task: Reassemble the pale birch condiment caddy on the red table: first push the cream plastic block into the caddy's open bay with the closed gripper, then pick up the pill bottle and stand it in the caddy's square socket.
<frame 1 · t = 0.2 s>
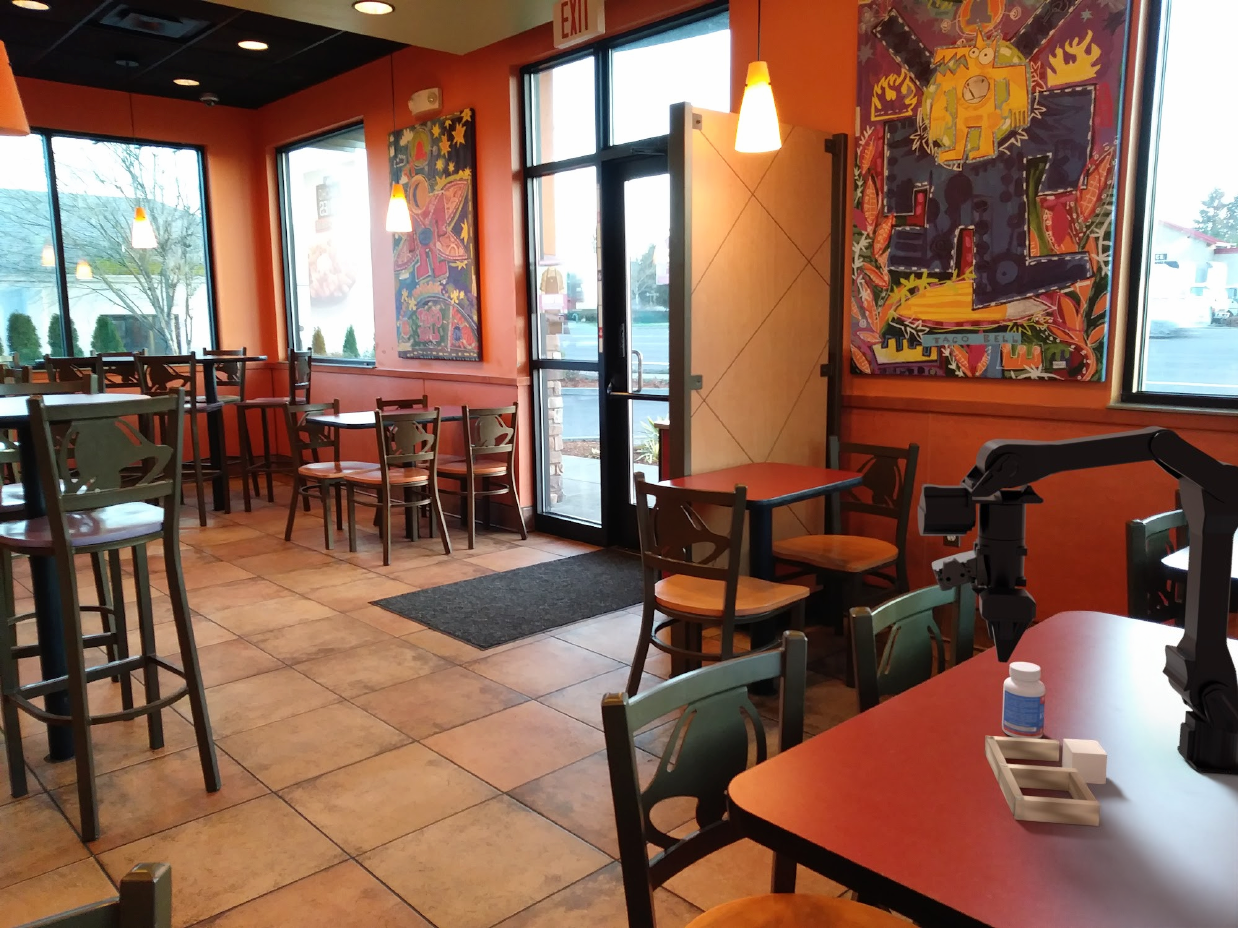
hand: (998, 649, 120), 14 cm above the table, tool pointing down, fingers open, 9 cm apart
pill bottle: (1022, 733, 127), on the table
caddy: (1037, 786, 112), on the table
cream block: (1083, 775, 114), on the table
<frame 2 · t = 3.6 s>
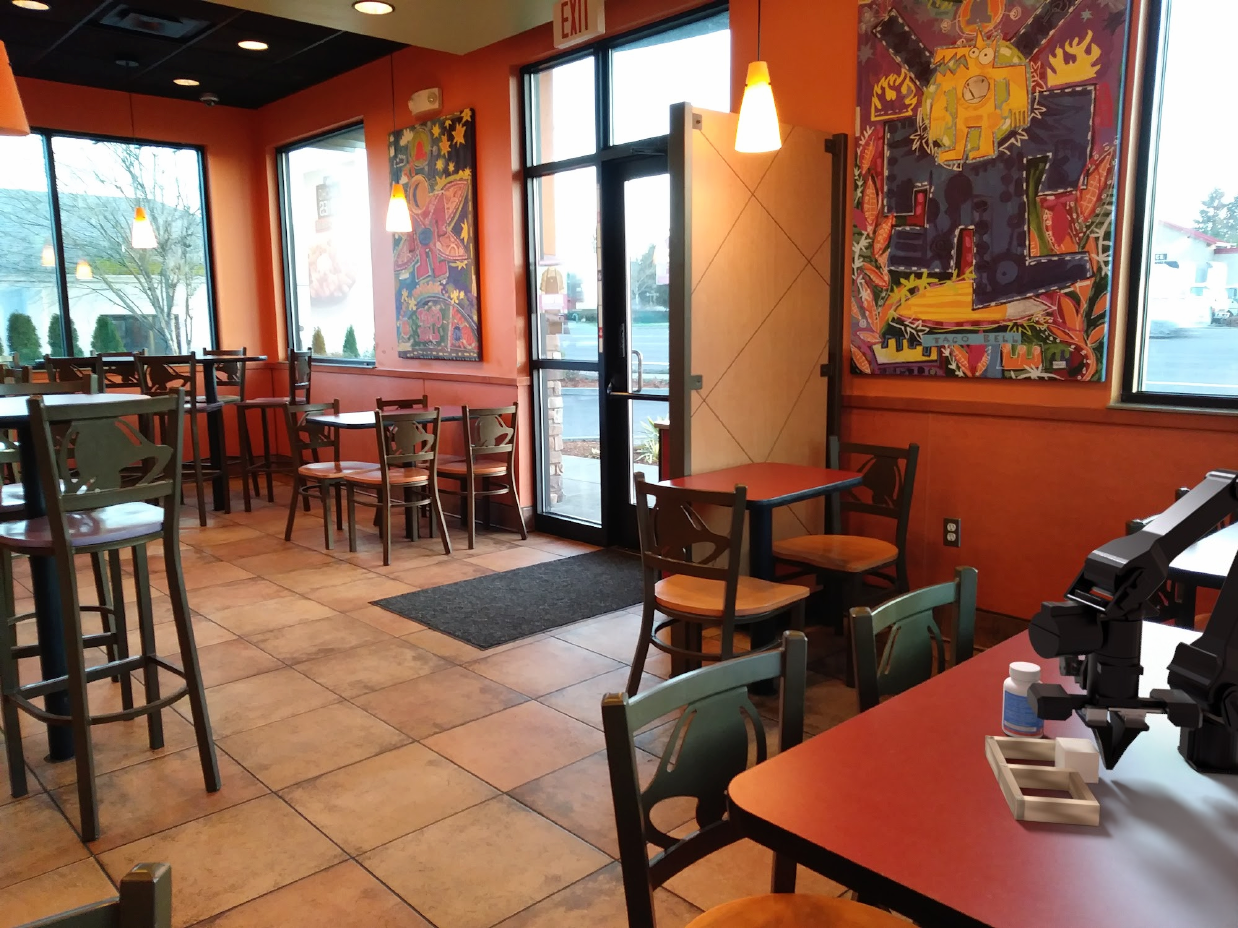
hand: (1107, 768, 113), 1 cm above the table, tool pointing down, fingers closed
cream block: (1075, 774, 114), on the table, touching gripper
everything else where it was.
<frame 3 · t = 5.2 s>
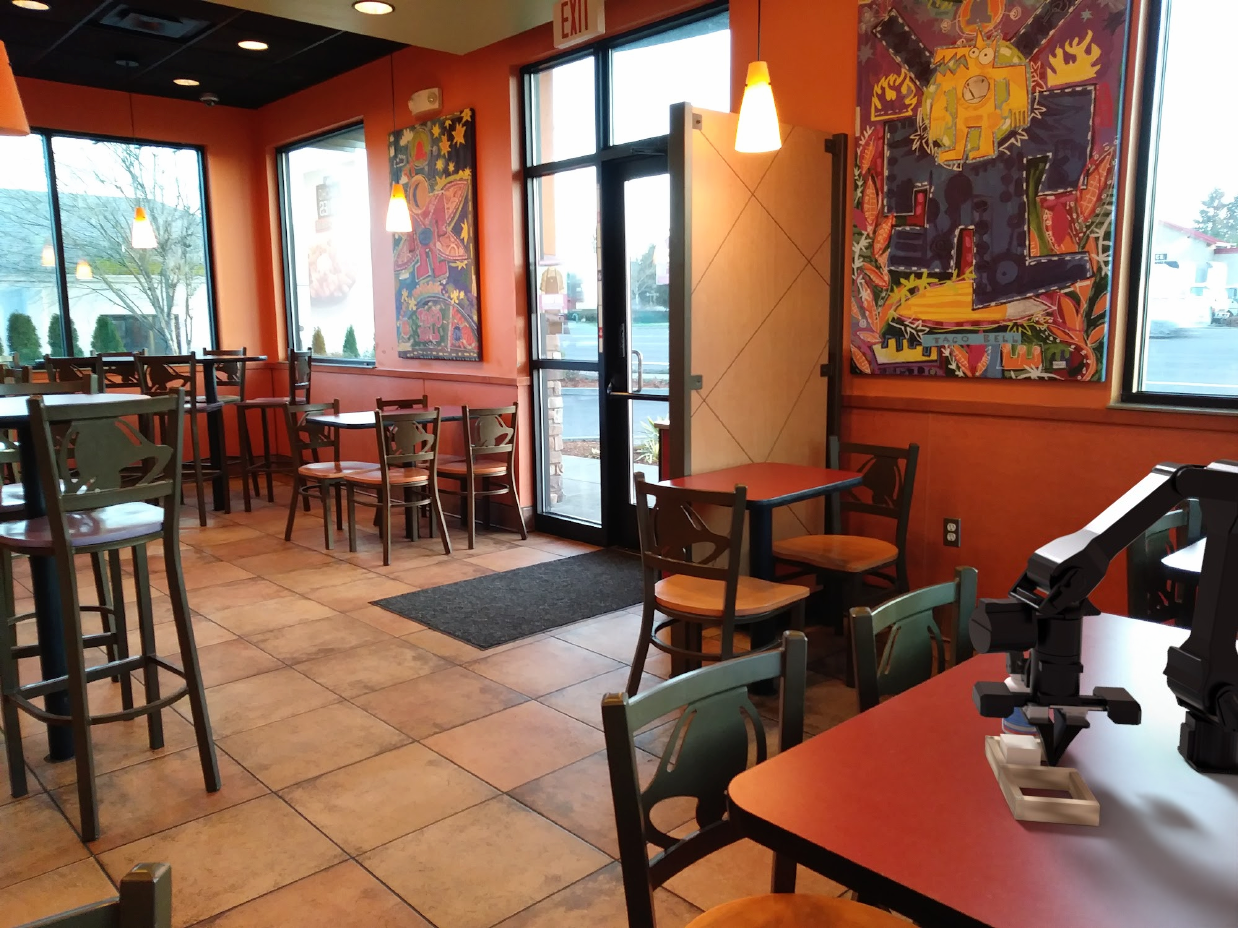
hand: (1051, 765, 115), 1 cm above the table, tool pointing down, fingers closed
cream block: (1019, 770, 116), resting in caddy, touching gripper
everything else where it was.
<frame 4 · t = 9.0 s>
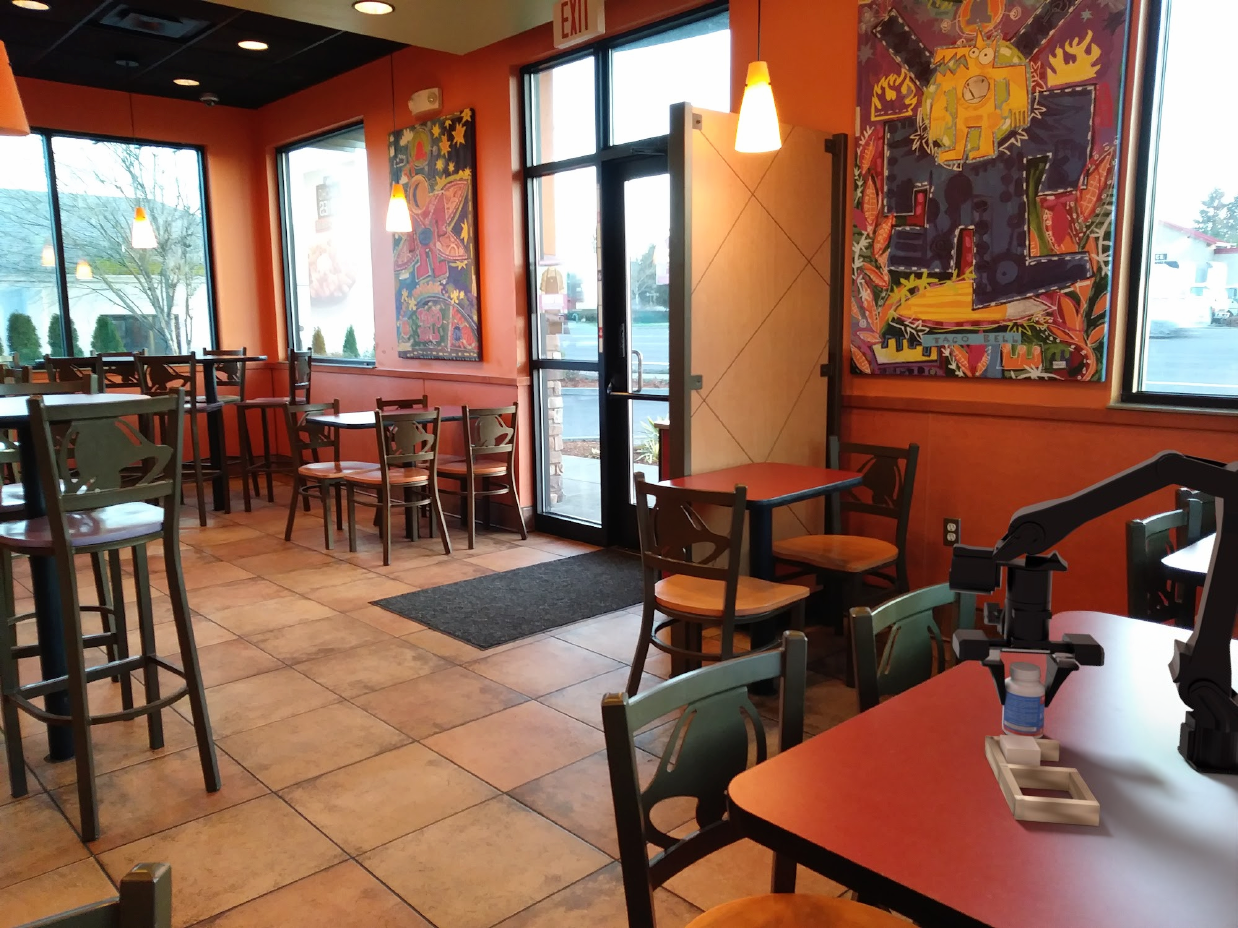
hand: (1023, 705, 126), 4 cm above the table, tool pointing down, fingers closed on pill bottle, 5 cm apart
pill bottle: (1022, 733, 127), on the table, touching gripper
cream block: (1018, 771, 116), resting in caddy
when the fingers open (5 cm above the table, at t = 13.3 s): pill bottle drops 1 cm, resting in caddy.
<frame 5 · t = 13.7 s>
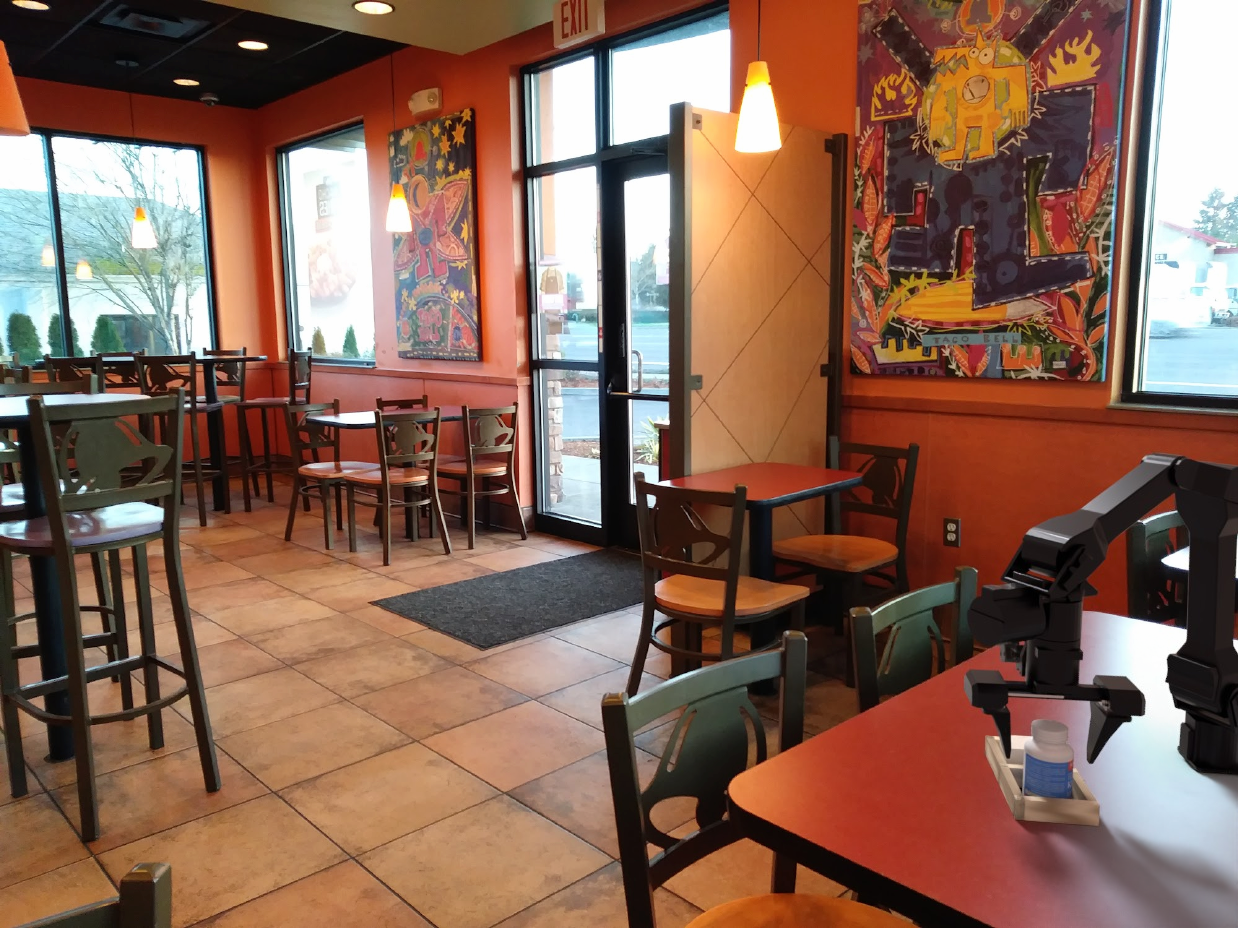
hand: (1048, 759, 107), 5 cm above the table, tool pointing down, fingers open, 9 cm apart
pill bottle: (1046, 804, 108), resting in caddy
everything else where it was.
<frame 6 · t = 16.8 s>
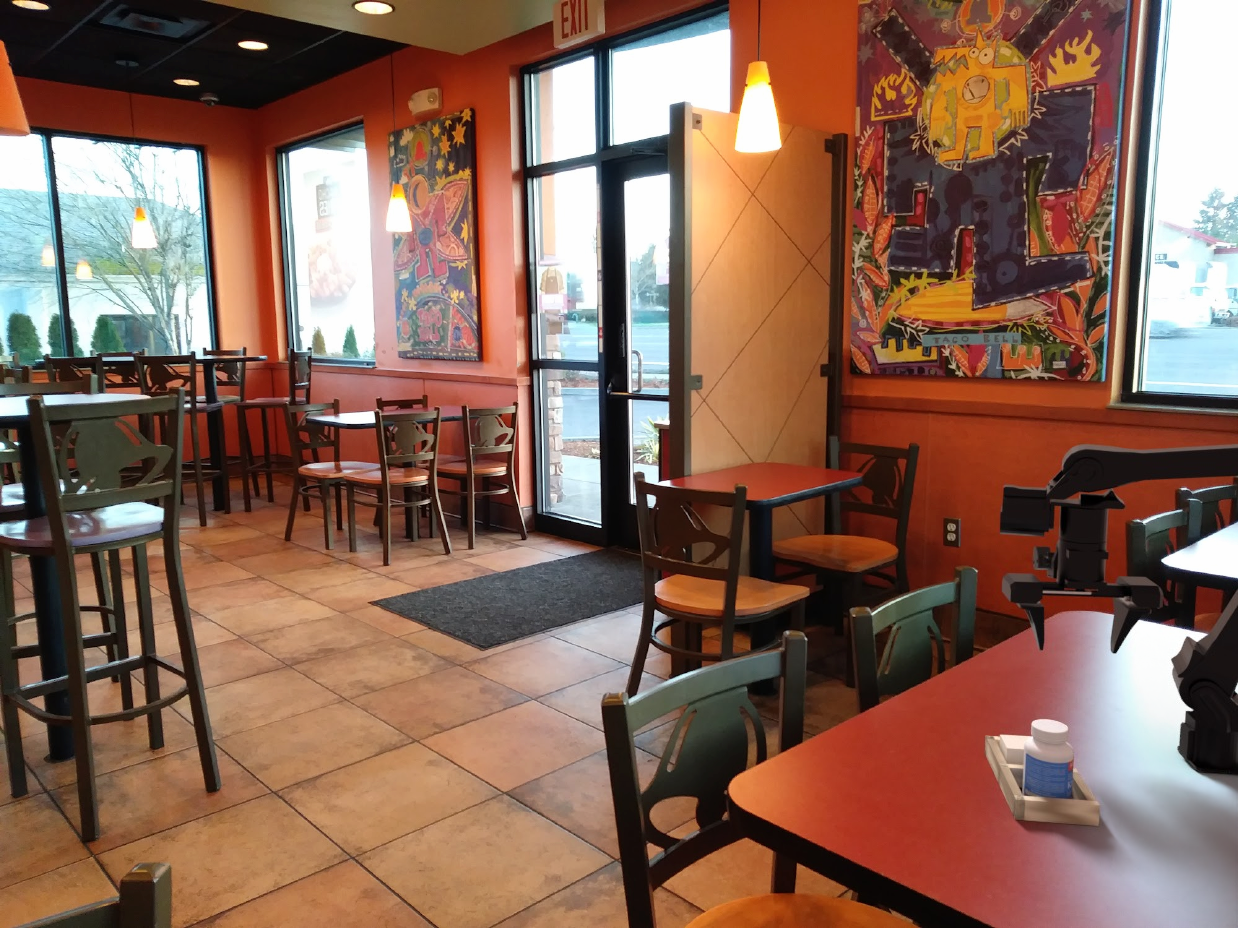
hand: (1076, 650, 122), 13 cm above the table, tool pointing down, fingers open, 9 cm apart
nothing on the table moved.
at the end: pill bottle 0.1 cm from the target spot on the caddy, point 0.0 cm above the caddy's base; pill bottle tilted 0°; cream block inside the target area on the caddy (1.0 cm from its centre), point 0.0 cm above the caddy's base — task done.
